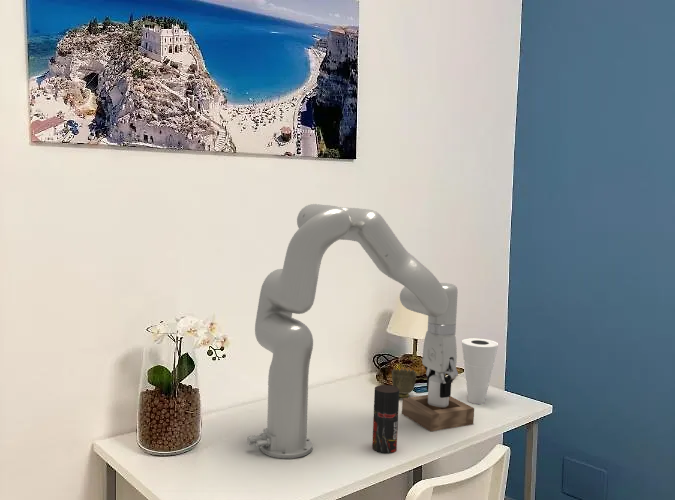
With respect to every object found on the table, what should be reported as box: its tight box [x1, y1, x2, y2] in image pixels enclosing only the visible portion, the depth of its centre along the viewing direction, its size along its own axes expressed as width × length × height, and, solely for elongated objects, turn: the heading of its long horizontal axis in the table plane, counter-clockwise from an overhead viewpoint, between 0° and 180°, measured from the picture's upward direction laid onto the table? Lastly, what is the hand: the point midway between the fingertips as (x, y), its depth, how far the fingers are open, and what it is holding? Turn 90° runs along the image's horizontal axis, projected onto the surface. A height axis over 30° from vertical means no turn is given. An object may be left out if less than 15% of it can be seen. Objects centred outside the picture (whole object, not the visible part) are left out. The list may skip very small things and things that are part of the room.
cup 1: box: [391, 368, 417, 400], centre depth 201 cm, size 8×7×8 cm
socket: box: [401, 394, 475, 432], centre depth 184 cm, size 14×14×4 cm
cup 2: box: [461, 337, 499, 405], centre depth 199 cm, size 11×11×18 cm
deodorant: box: [371, 384, 400, 455], centre depth 162 cm, size 6×6×15 cm
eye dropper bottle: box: [427, 371, 449, 408], centre depth 183 cm, size 4×6×12 cm
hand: (438, 392), depth 183 cm, fingers closed on eye dropper bottle, 5 cm apart
